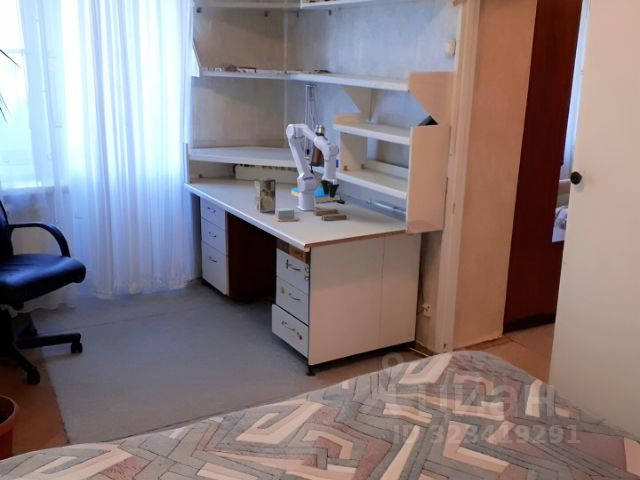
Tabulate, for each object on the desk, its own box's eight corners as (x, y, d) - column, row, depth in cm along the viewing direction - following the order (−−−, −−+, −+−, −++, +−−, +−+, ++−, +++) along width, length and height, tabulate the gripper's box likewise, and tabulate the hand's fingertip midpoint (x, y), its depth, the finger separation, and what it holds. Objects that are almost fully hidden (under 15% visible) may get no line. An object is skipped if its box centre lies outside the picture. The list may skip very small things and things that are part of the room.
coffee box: (269, 208, 344) (269, 177, 339) (275, 210, 338) (276, 179, 334) (253, 210, 339) (253, 178, 334) (259, 212, 334) (260, 181, 329)
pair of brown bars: (313, 214, 334) (313, 210, 333) (335, 212, 338) (335, 208, 338) (324, 220, 321) (324, 216, 321) (346, 219, 326) (346, 215, 325)
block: (275, 216, 324) (275, 208, 323) (290, 215, 327) (290, 207, 326) (278, 219, 319) (278, 211, 318) (294, 218, 322) (294, 210, 321)
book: (315, 197, 357) (290, 187, 376) (314, 204, 358) (290, 195, 378) (341, 194, 366) (315, 185, 386) (340, 201, 367) (315, 192, 387)
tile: (271, 216, 326) (271, 215, 326) (290, 215, 329) (290, 214, 329) (278, 221, 317) (278, 220, 317) (297, 220, 320) (297, 219, 320)
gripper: (317, 166, 332) (316, 193, 336) (328, 171, 319) (327, 199, 323) (330, 166, 335) (329, 192, 339) (341, 171, 322) (340, 198, 326)
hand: (329, 196), depth 331 cm, fingers open, 7 cm apart
